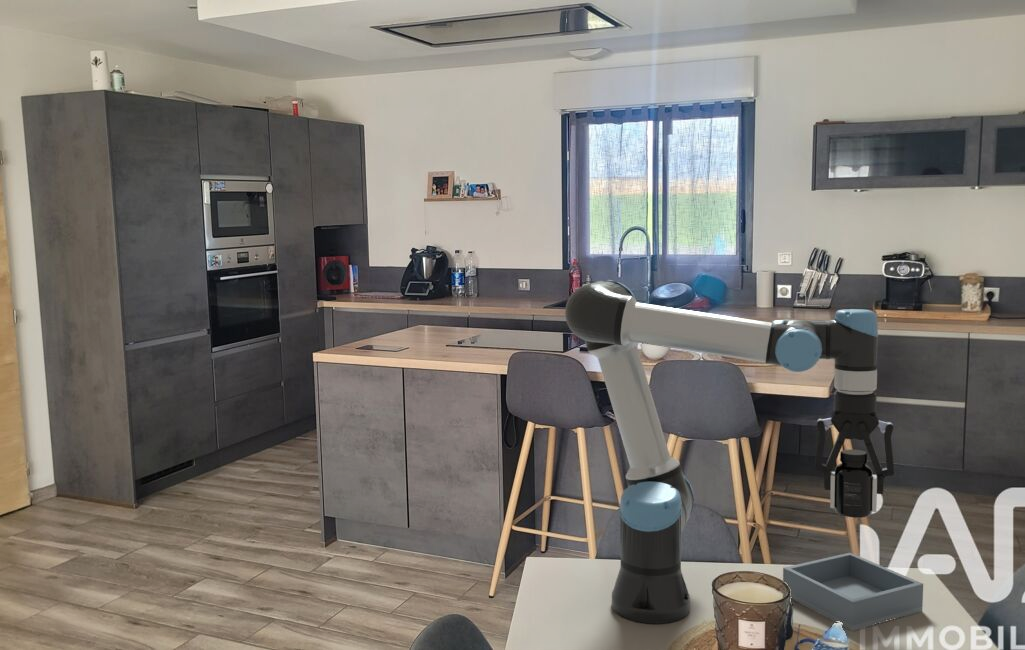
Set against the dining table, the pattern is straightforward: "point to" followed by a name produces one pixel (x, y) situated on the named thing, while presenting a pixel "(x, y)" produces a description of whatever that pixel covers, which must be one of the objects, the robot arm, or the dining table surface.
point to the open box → (853, 590)
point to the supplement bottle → (853, 485)
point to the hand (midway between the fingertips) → (853, 507)
